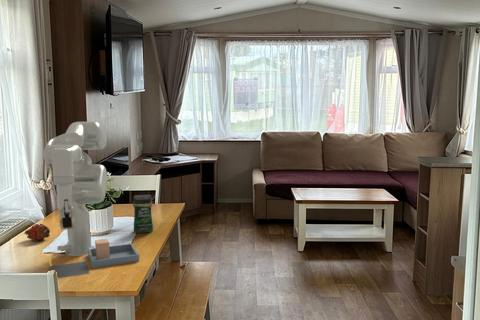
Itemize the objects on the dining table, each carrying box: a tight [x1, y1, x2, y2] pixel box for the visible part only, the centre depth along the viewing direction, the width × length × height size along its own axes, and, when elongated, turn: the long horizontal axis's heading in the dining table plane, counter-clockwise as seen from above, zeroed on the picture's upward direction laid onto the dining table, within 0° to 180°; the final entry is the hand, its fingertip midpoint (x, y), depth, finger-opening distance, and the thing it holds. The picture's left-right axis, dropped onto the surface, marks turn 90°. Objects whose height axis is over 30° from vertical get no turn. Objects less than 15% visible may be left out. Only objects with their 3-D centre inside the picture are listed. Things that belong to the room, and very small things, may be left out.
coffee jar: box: [132, 194, 154, 234], centre depth 243 cm, size 10×8×19 cm
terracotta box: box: [94, 238, 110, 260], centre depth 203 cm, size 5×5×8 cm
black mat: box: [49, 260, 90, 279], centre depth 193 cm, size 14×14×1 cm
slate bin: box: [87, 242, 140, 269], centre depth 205 cm, size 19×16×4 cm
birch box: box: [58, 206, 75, 231], centre depth 190 cm, size 5×5×8 cm
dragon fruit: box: [24, 223, 51, 242], centre depth 231 cm, size 8×8×12 cm
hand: (66, 224), depth 190 cm, fingers closed on birch box, 5 cm apart
